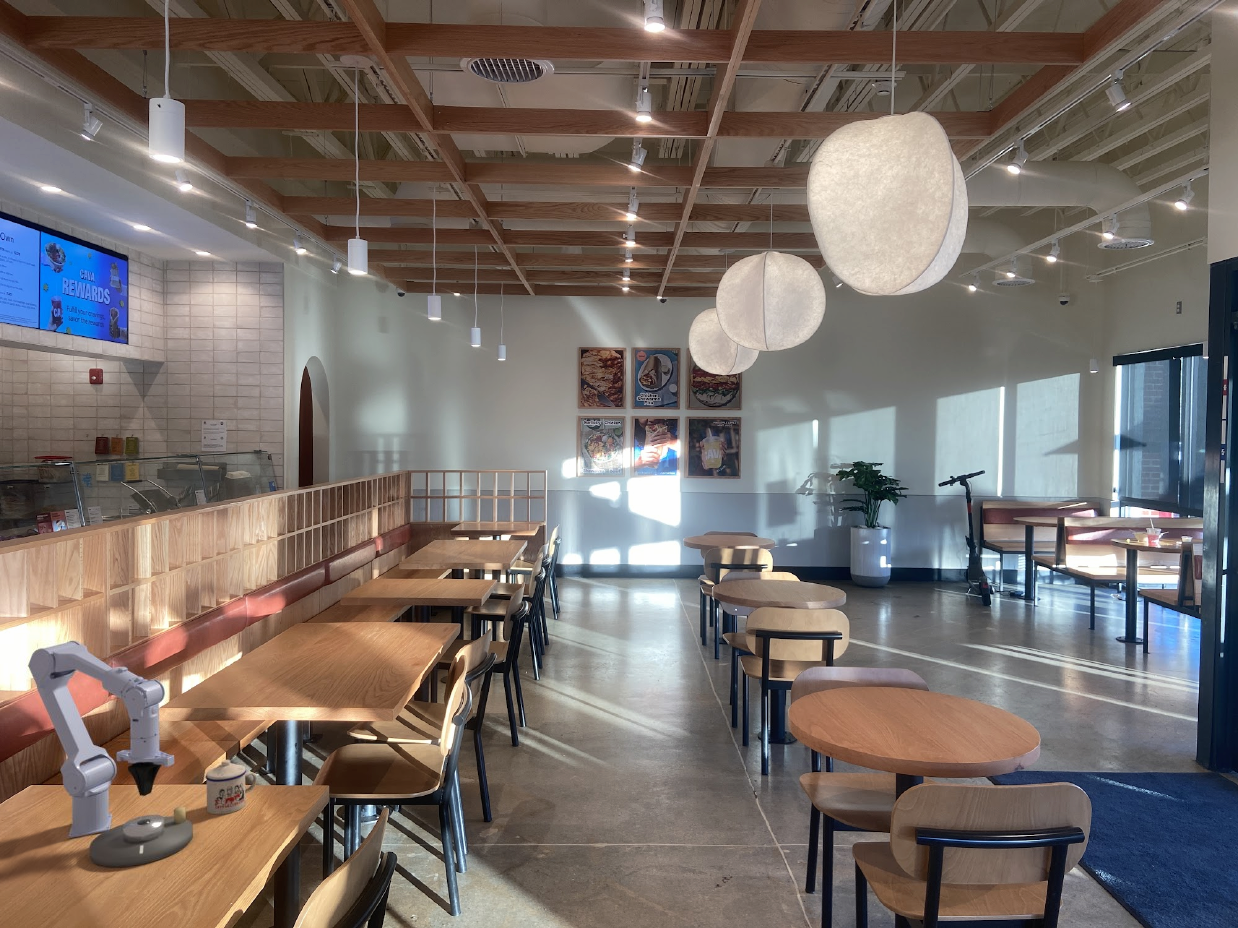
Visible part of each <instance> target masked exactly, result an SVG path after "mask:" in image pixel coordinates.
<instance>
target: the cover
mask: <svg viewBox="0 0 1238 928" xmlns="http://www.w3.org/2000/svg"><path fill="white" fill-rule="evenodd" d="M164 817H165V816H163V815H161V814H147V815H142V816H141V815H140V816H138V817H134V818H131V819H130V820H128V821H126V822H125V823H123V824H124V825H123V841H124V842H125V843H128V844H140V843H146V842H149V841H153V840H155V839H157V838H159V837H161V836H162V835H163V834H164Z"/></svg>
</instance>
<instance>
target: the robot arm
mask: <svg viewBox="0 0 1238 928" xmlns="http://www.w3.org/2000/svg"><path fill="white" fill-rule="evenodd" d="M87 647H88V646H86V645H84V644H81V642H79V641H77V640H69V641H67V642H65V643H60V644H55V645H52V646H48V647H43V648H42V647H41V648H38V649H36V650H35V651H33V652H32V654H31V657H30V660H29V663H28V665H27V668H29V671H30V673H31V676H32V678H33V681H34V682H35V685H36V688H37V691H38V693H39V697H40V699H41V700H42V703H43V705H44V707H45V709H46V712H47V715H48V716H49V719H50V721H51V722H52V725H53V727H54V731H55V732H56V734H57V736H58V738H59V741H60V743H61V745H62V748H63V750H64V752H65V754H66V759H65V761H64V762H63V764H62V766H61V768H60V772H61V775H62V782H63V783H62V785H63V787H64V790H65V791H66V792H67V793H68V794H69V796H70V797H71V806H72V807H71V813H72V815H71V817H72V820H71V821H72V823H71V826H70V830H69V834H68V838H69V839H71V838H77V837H83V836H89V835H94V834H98V833H100V834H101V833H104V832H106V831H107V830H110V829H111V825H112V819H113V818H112V817H113V814H112V813H110V812H109V811H110V810H109V808H110V807H109V805H110V804H109V803H110V802H109V800H110V799H109V794H110V793H109V787H110V786H111V785H112V781H113V780H114V778H115V777H116V775H117V769H118V768H117V764H116V761H117V762H122V761H123V762H124V761H127V762H128V764H131V765H129V766H127V771H128V772H129V773H130V774H131V776H132V777H133V779H134V781H135V784H136V788H137V791H138V793H139V794H138V795H139V796H141V797H145V796H148V795H150V794H152V791H153V787H154V783H155V780H156V777H157V774H158V773H159V770H160V769H161V767H162V766H164V768H165V767H166V768H168V767H171V766H172V765H174V764H175V755H173V754H168V753H166V752H164V751H162V750H160V703H161V702H162V701H163V700H164V698H165V696H166V695H165V693H166V692H165V688H164V685H163V684H162V683H161V682H160V681H159V680H158V679H156V678H151V679H144V677H143V676H139V675H136V674H135V673H133V672H131V671H130V670H128V667H127V666H116V667H114V668H113V667H111V666H109V665H108V664H107V663H105V662H104V661H103V660H101V659H99V658H98V657H96V656H95V655H93V654H92V653H90V652H89V651H88V648H87ZM76 672H80V673H83V674H84V675H87V676H88V677H91V678H93V679H96V680H97V681H100V682H101V687H102V688H103V690H104V691H107V692H108V693H110V694H113V695H114V696H115V697H118V698H119V699H121V700H123V704H124V706H125V708H126V709H127V715H128V718H129V719H130V720H129V721H130V722H129V723H130V749H122V750H121V751H117V752H116V754H115V755H116V761H115V760H114V759H113V758H112V757H111V756H110V755H109V753H108V752H107V749H106V748H104V747H100V746H98V745H94V743H93V740H92V739H91V737H90V735H89V732H88V729H87V728H86V726H85V723H84V720H83V718H82V716H81V714H80V712H79V710H78V707H77V705H76V703H75V701H74V698H73V697H72V694H71V692H70V690H69V687H68V683H69V681H70V679H71V678H72V677H73V676H74V675H75V674H76ZM109 813H110V814H109Z"/></svg>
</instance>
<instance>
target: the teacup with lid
mask: <svg viewBox="0 0 1238 928" xmlns="http://www.w3.org/2000/svg"><path fill="white" fill-rule="evenodd" d="M249 776H252V778H253V780H252V783H251V784H250V786H249V787H248V788H246V777H249ZM205 780H206V811H207V812H208V813H209V814H211V815H227V814H232V813H235V812H237V811H240V810H241V809H242V808H243V809H244V807H245V805H246V794H247V793H250V792H252V791H253V790H254V789H255V787H256V786H257V782H258V776H257V774H256V773H254V772H252V771H247V769H246V767H245V766H244V765H242V764H235V763H232V762H231V760H230V759H224V760H222V761H221V764H219V765H217V766H216V767H213V768H211V769H210V770H208V771H207V772H206V775H205Z"/></svg>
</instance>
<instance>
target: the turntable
mask: <svg viewBox="0 0 1238 928" xmlns="http://www.w3.org/2000/svg"><path fill="white" fill-rule="evenodd" d="M163 817H164V834H163V835H162V836H161V837H159V838H157V839H155V840H153V841H149V842H146V843H140V844H128V843H125V842H124V841H123V825H124V824H125V823H122V824H120V825H117V826H115V827H112V828H110V830H107V831H105V832H101V833H100V834H99V835H98V836H96V837H95V838H94V839H93V840H92V841H91V842H90V844H89V859H90V861H91V862H92V863H93V864H95V865H97V866H100V867H106V868H107V867H108V868H109V867H110V868H111V867H112V868H117V867H118V868H120V867H121V868H122V867H132V866H138V865H144V864H149V863H151V862H155V861H158V860H161V859H163V858H164V859H165V858H167V857H169V856H172V855H174V854H175V853H177V852H179V851H180V850H182V849H184V848H185V847H187V846H188V845H189V844H190V843H191V841H192V839H193V837H194V825H193V823H192V822H191V821H190V820H188V819H186V806H177V807H175V808H174V809H173V816H163Z"/></svg>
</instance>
